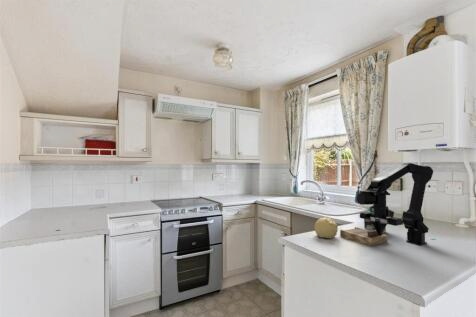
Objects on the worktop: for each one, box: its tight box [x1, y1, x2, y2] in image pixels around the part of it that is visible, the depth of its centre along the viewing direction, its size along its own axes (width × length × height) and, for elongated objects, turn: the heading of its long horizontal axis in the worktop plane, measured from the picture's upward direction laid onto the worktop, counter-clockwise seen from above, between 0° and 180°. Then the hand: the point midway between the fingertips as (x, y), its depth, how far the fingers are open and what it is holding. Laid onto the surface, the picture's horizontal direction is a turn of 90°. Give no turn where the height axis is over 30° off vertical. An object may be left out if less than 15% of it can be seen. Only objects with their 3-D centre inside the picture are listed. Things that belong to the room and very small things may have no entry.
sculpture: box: [314, 216, 339, 239], centre depth 131 cm, size 11×12×11 cm
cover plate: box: [344, 227, 379, 238], centre depth 126 cm, size 15×10×4 cm, turn 26°
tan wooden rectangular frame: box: [339, 226, 388, 247], centre depth 126 cm, size 18×13×4 cm
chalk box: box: [363, 206, 387, 234], centre depth 140 cm, size 9×9×15 cm
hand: (380, 235), depth 117 cm, fingers closed
